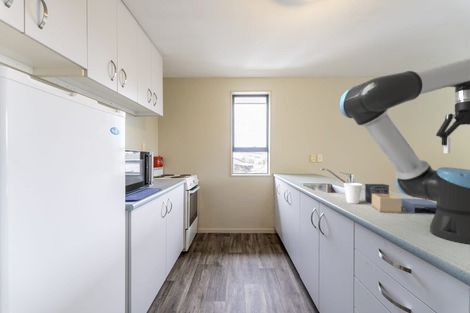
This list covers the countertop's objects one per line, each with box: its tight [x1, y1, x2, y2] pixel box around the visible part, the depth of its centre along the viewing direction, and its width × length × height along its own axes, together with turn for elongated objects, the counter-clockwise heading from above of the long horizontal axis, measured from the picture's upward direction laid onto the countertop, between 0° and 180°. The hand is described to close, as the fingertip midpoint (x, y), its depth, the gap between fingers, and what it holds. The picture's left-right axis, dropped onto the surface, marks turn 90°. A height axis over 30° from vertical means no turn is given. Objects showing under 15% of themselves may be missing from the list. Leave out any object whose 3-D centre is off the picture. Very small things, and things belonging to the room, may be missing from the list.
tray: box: [371, 193, 402, 214], centre depth 115 cm, size 12×9×7 cm
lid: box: [400, 197, 437, 214], centre depth 114 cm, size 14×12×5 cm
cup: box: [342, 182, 363, 205], centre depth 130 cm, size 10×10×11 cm
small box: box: [364, 183, 390, 204], centre depth 133 cm, size 11×6×10 cm, turn 84°
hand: (466, 153), depth 94 cm, fingers open, 13 cm apart
